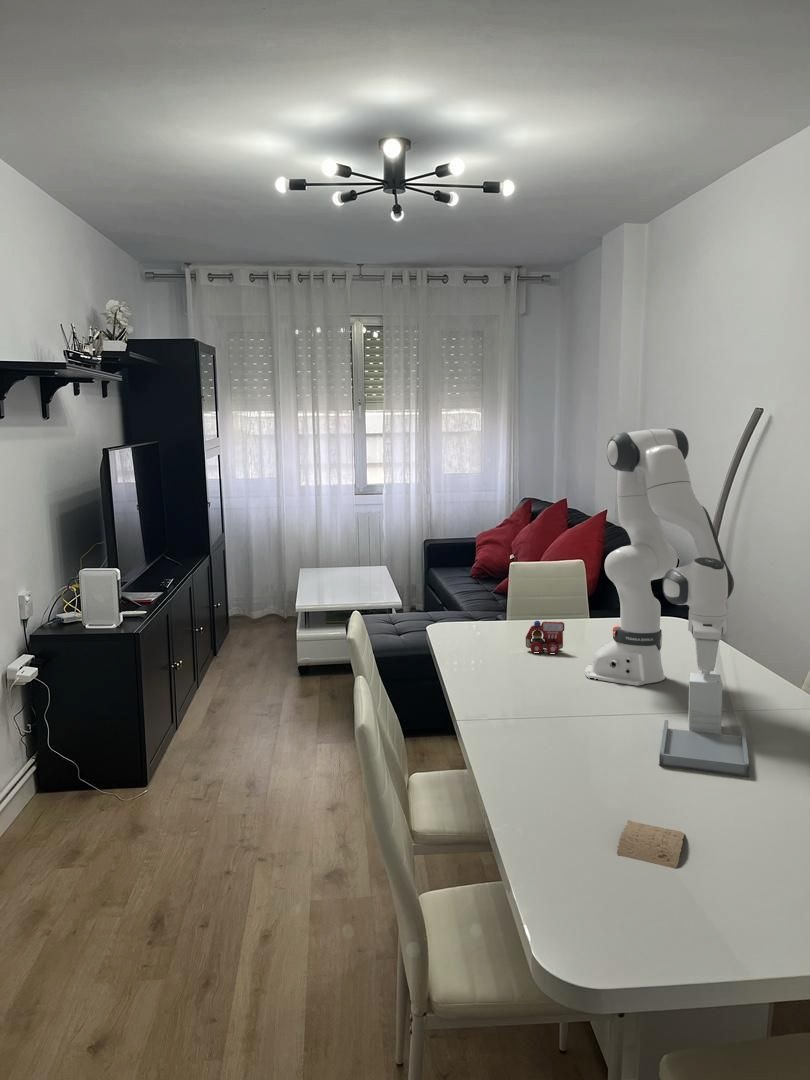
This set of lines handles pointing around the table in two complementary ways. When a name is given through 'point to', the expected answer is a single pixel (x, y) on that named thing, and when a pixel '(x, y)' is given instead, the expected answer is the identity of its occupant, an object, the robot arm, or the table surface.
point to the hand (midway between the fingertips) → (705, 678)
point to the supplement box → (705, 703)
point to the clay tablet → (651, 844)
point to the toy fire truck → (545, 637)
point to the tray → (704, 751)
